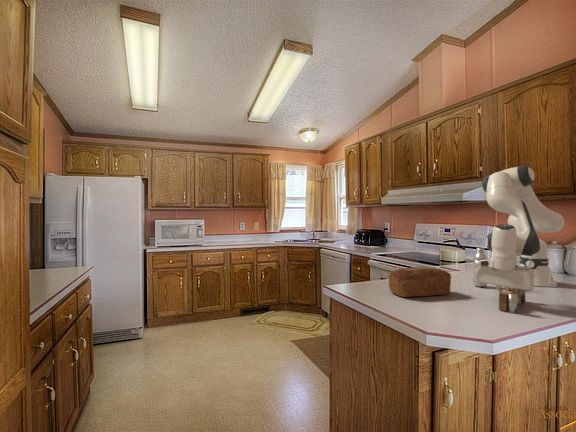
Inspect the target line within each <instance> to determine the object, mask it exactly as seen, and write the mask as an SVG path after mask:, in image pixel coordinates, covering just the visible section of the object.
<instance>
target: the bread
mask: <svg viewBox="0 0 576 432" xmlns="http://www.w3.org/2000/svg"><path fill="white" fill-rule="evenodd" d="M451 280H452V275H451V273H449V272H448V271H446V270H444V269H440V268H437V267H428V266H414V267H413V266H412V267H404V268H398V269H396V270H393V271H392V272H391V273H389V275H388V288H389V291H390V292H391V293H392V294H393V295H396V296H397V297H398V296H399V297H402V298H414V297H430V296H439V295H440V296H442V295H443V296H445V295H448V294H450V293H451V282H452V281H451Z"/></svg>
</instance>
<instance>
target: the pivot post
mask: <svg viewBox="0 0 576 432" xmlns="http://www.w3.org/2000/svg"><path fill="white" fill-rule="evenodd" d="M520 304H526V291H525V290H521V303H520Z"/></svg>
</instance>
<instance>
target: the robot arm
mask: <svg viewBox="0 0 576 432" xmlns="http://www.w3.org/2000/svg"><path fill="white" fill-rule="evenodd" d="M534 181H535V172H534V170H533V169H532V168H531V167H530V166H529V165H525V164H522V165H518V166H514V167H510V168H506V169H503V170H500V171H497V172H494V173H492V174H488V175H486V176H484V177H483V179H482V180H481V186H482V189H483V191H484V193H485V194H486V202H487V204H488V206H489V207H490V208H491V209H492V210H494V211H497V212H500V213H504V214H508V215H509V217H508V218H507V223H505V224H504V223H502V224H501V223H500V224H495V225H494V226H493V227H492V232H490V233H489V234H488V235H486V238H487V245H486V249H488V250H490V251H491V253H490V254H491V255H490V258H488V259H485V260H481V261H478V265H479V267H477V269H476V276H475V279H476V281H477V282H481V283H486V284H487V285H492V286H495V289H496V290H497V292H498V294H499V293H503V292H506V291H508V290H510V289H512V288H514V289H520V290H525V292H531V291H533V290H534V289H535V287H545V288H546V287H549V288H550V287H551V288H557V286H558V281H557V280H555V279H554V277H553V275H552V274H553V273H552V270H551V268H550V266H549V264H550V263H549V258H548V244H547V243H546V241H545V240H543V239H541V238H540V237H539V236H538V233H545V234H547V233H556V232H560V231H562V229H563V228H564V225H565V219H564V217H563V216H562V215H561V214H560V213H558V212H556V211H553V210H551V209H550V208H548V207H547V206H545V205H544V204H543V203H542V202H541V201H540V200H539V199H538V196H537V195H536V194H535V191H534V189H533V187H532V186H531V185H532V184H533V183H534ZM517 255H520V257H519V265H518V256H517ZM503 287H504V290H505V291H503V290H502V288H503Z"/></svg>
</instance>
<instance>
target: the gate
mask: <svg viewBox="0 0 576 432" xmlns="http://www.w3.org/2000/svg"><path fill="white" fill-rule="evenodd" d="M505 291H506V290H505ZM505 291H502V292H503V293H499V292H498V311H499V310H500V311H503V312H508V293H513V294H517V295H518V305H519V304H522V303H521V290H520V289H514V288H510V290H508V291H506V292H505Z"/></svg>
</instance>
